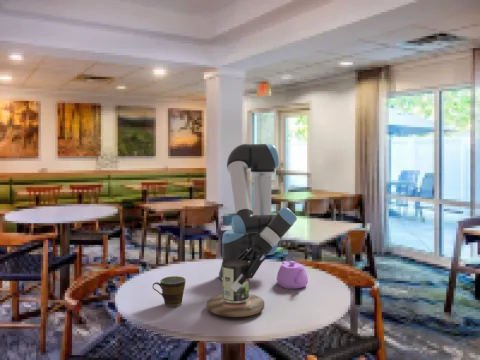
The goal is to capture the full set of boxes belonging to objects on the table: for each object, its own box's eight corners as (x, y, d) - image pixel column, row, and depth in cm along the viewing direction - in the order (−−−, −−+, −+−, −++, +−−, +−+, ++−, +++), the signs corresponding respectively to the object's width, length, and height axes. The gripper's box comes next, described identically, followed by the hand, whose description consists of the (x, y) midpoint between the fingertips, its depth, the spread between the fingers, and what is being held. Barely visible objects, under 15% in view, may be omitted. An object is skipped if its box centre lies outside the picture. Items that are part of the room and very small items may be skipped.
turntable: (196, 307, 159) (196, 298, 159) (241, 296, 172) (241, 287, 172) (228, 326, 141) (228, 316, 141) (276, 312, 154) (276, 302, 154)
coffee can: (251, 294, 161) (251, 259, 160) (246, 304, 151) (246, 266, 150) (225, 293, 163) (225, 258, 162) (219, 302, 153) (219, 265, 152)
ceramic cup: (184, 299, 168) (184, 275, 168) (186, 308, 159) (186, 282, 158) (152, 301, 166) (152, 277, 165) (152, 310, 156) (152, 285, 155)
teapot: (289, 294, 174) (289, 269, 174) (270, 281, 193) (270, 257, 192) (316, 291, 179) (317, 266, 178) (295, 278, 197) (296, 255, 197)
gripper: (285, 253, 150) (245, 301, 146) (260, 241, 171) (225, 282, 167) (272, 240, 148) (231, 288, 144) (249, 230, 169) (212, 271, 165)
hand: (228, 285), depth 155 cm, fingers closed on coffee can, 10 cm apart
